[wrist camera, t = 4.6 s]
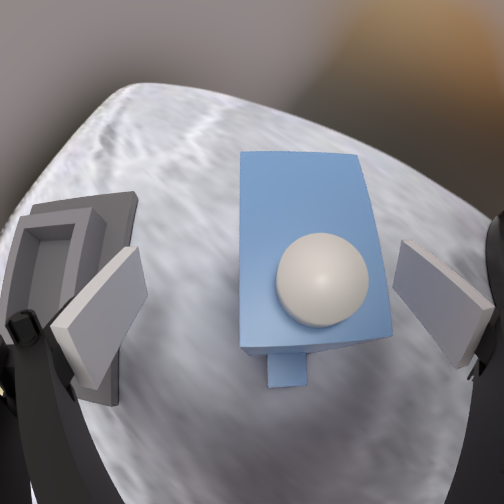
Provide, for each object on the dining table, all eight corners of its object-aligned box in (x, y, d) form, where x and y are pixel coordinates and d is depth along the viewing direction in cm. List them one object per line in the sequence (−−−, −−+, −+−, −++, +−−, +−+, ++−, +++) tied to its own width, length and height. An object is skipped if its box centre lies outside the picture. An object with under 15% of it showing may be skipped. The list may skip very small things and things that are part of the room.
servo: (247, 241, 20) (239, 101, 9) (304, 240, 20) (350, 106, 9) (249, 383, 16) (238, 425, 5) (313, 380, 16) (410, 403, 5)
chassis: (38, 209, 21) (18, 191, 18) (137, 197, 21) (122, 172, 18) (11, 372, 15) (-16, 369, 12) (118, 404, 15) (91, 410, 12)
